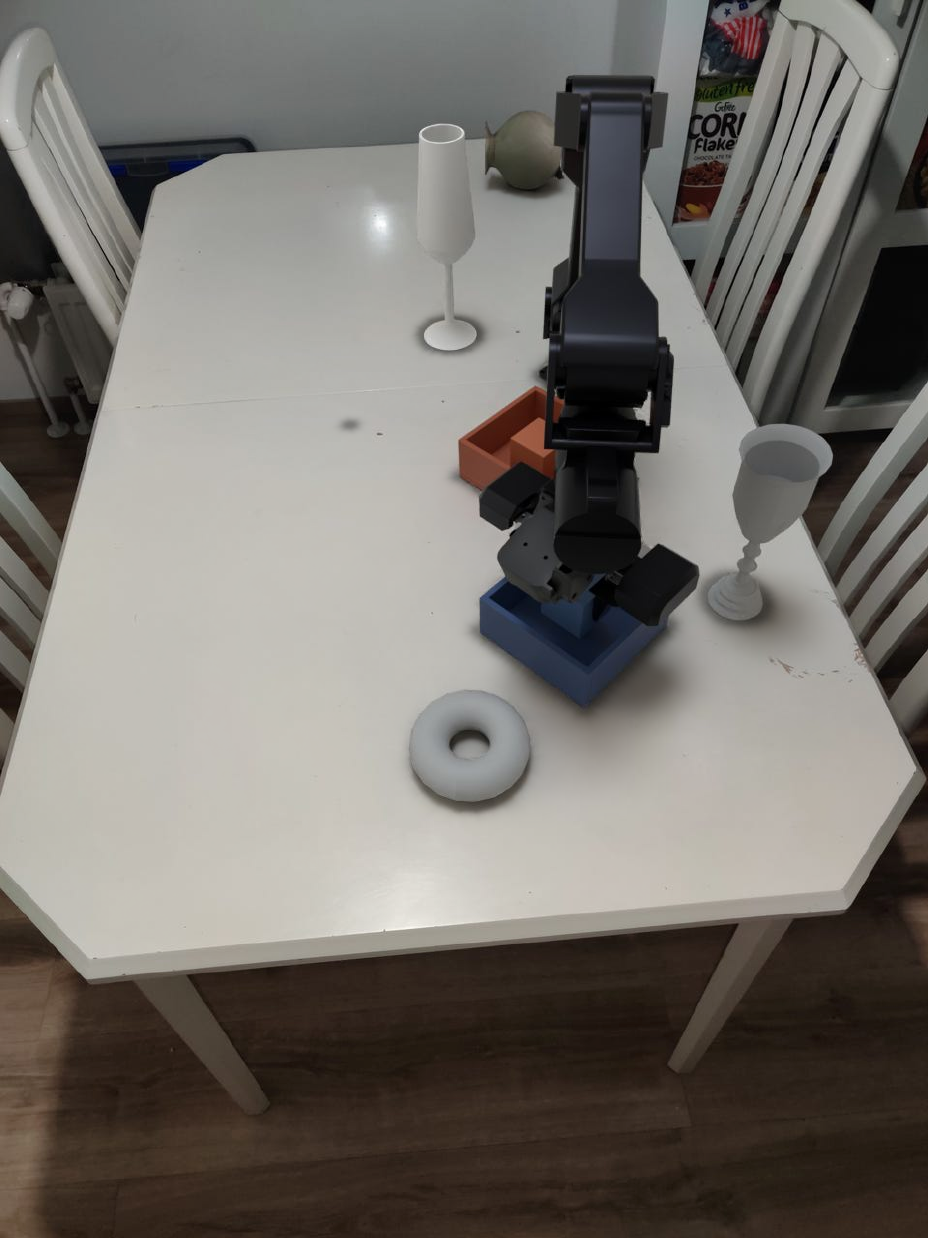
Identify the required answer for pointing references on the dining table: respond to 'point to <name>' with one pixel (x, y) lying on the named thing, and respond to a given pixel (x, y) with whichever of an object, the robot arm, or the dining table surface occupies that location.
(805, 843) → the dining table surface
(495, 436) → the terracotta bin
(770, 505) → the chalice
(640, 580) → the robot arm
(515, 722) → the donut
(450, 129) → the champagne flute
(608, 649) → the blue bin
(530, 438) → the terracotta block
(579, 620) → the blue block
